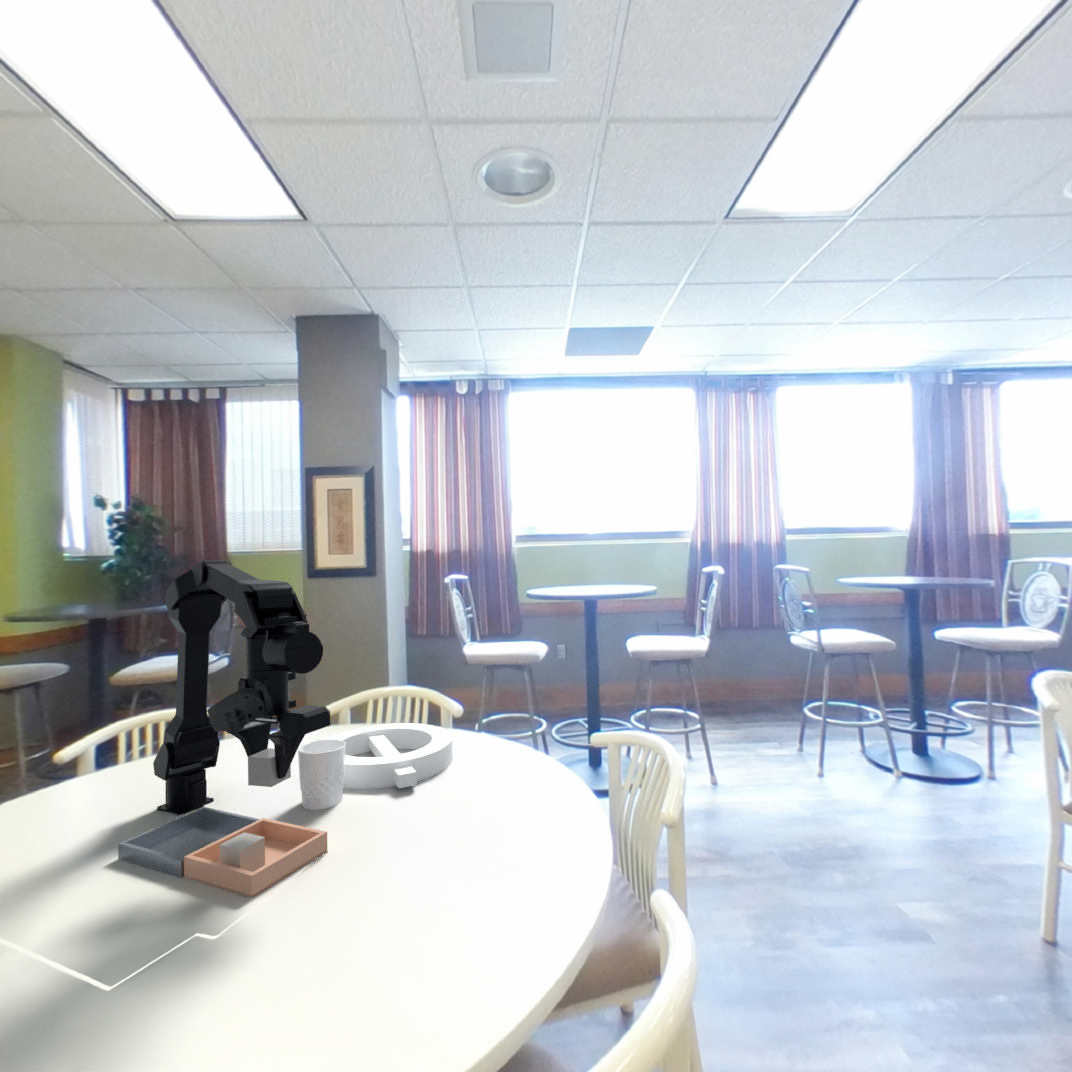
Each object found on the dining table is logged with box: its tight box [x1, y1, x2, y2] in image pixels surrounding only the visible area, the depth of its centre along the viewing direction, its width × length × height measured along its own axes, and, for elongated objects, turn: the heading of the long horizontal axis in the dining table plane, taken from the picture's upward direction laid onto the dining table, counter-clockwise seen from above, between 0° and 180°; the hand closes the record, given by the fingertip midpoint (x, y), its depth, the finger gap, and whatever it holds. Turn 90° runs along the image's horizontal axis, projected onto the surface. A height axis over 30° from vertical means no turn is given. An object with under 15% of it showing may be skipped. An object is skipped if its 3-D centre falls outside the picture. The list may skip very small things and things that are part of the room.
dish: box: [183, 817, 328, 899], centre depth 84 cm, size 13×13×3 cm
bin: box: [117, 806, 261, 879], centre depth 90 cm, size 14×14×2 cm
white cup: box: [297, 739, 345, 811], centre depth 106 cm, size 8×8×10 cm
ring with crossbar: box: [324, 722, 454, 790], centre depth 126 cm, size 28×28×5 cm
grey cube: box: [247, 748, 292, 788], centre depth 87 cm, size 4×4×4 cm
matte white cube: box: [219, 832, 265, 872], centre depth 82 cm, size 4×4×4 cm
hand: (269, 776), depth 87 cm, fingers closed on grey cube, 4 cm apart
